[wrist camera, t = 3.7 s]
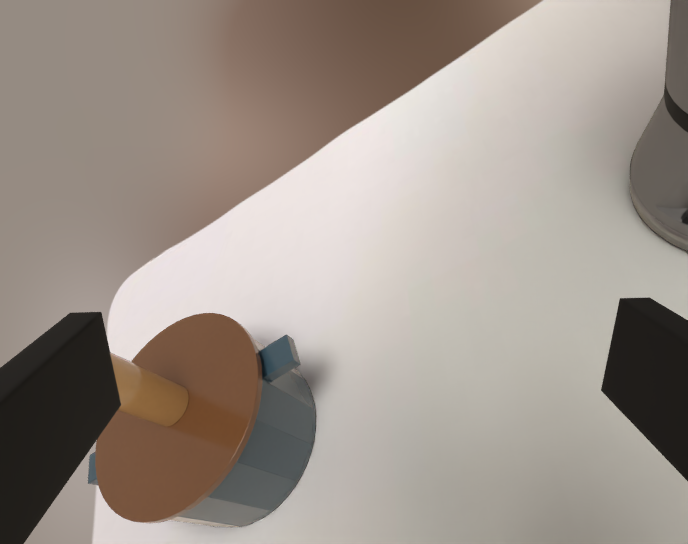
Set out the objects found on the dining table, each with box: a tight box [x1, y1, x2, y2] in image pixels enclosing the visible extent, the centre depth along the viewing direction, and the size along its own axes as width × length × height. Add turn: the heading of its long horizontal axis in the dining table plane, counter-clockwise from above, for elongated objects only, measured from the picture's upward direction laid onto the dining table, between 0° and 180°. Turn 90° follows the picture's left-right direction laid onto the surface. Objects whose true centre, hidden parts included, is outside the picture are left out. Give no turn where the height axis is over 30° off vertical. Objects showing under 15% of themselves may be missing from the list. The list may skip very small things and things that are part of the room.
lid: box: [95, 313, 262, 523], centre depth 32 cm, size 16×16×9 cm
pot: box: [88, 335, 316, 527], centre depth 38 cm, size 15×20×8 cm
